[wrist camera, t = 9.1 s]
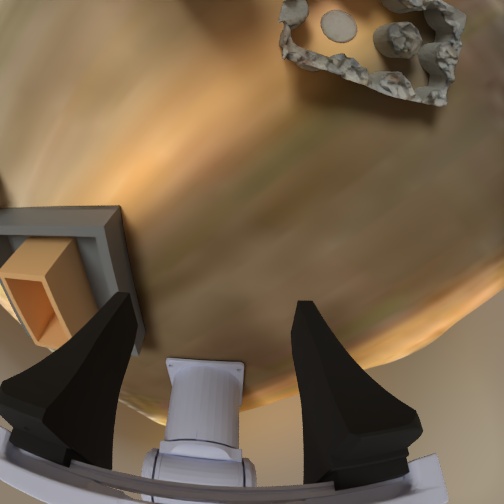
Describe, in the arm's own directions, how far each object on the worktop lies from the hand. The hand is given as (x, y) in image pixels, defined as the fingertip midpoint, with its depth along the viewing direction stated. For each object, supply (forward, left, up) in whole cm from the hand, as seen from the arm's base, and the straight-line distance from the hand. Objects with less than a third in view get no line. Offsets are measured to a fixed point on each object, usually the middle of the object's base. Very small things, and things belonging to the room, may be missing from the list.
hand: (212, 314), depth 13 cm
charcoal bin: (-6, +14, -9) cm, 18 cm away
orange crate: (-6, +14, -9) cm, 18 cm away
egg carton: (+13, -8, -10) cm, 18 cm away
